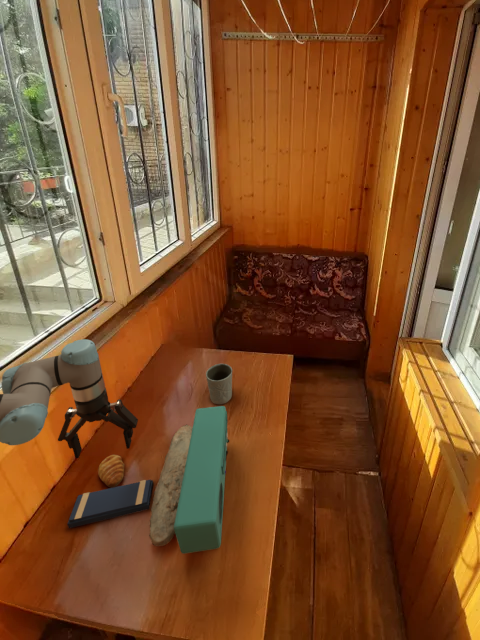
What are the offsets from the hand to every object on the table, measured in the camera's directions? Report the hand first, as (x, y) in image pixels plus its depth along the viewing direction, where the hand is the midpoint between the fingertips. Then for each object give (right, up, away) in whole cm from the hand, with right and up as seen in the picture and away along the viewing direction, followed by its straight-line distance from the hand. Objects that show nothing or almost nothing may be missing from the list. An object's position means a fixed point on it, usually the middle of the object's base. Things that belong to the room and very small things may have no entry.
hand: (104, 449), depth 92 cm
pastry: (+1, -10, +4) cm, 11 cm away
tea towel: (+6, -13, -5) cm, 15 cm away
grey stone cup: (+28, +1, +33) cm, 43 cm away
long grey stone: (+21, -10, +2) cm, 23 cm away
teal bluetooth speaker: (+32, -12, -1) cm, 34 cm away
